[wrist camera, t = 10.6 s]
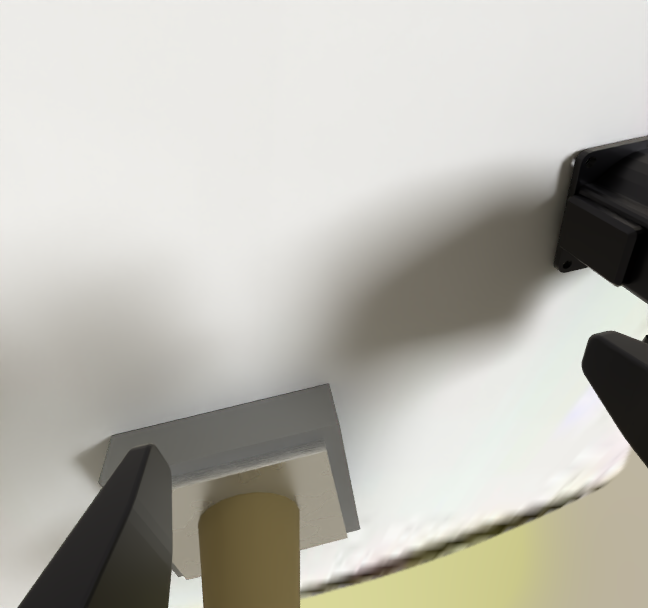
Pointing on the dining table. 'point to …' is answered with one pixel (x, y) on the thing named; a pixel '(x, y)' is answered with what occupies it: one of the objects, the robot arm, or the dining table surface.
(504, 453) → the dining table surface
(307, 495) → the kitchen scale
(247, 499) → the cork
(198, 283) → the dining table surface
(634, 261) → the robot arm
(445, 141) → the dining table surface
